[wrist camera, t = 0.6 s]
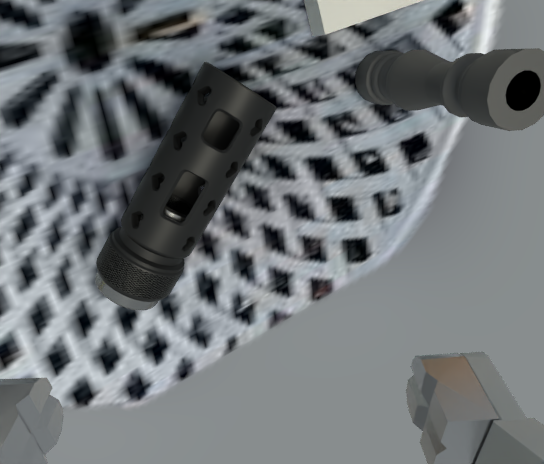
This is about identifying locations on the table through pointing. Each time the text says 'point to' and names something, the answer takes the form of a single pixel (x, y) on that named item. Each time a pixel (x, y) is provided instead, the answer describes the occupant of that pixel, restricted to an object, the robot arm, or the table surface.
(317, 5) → the socket block
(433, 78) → the candle holder
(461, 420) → the robot arm
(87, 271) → the table surface
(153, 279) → the muzzle brake
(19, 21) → the table surface
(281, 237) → the table surface
